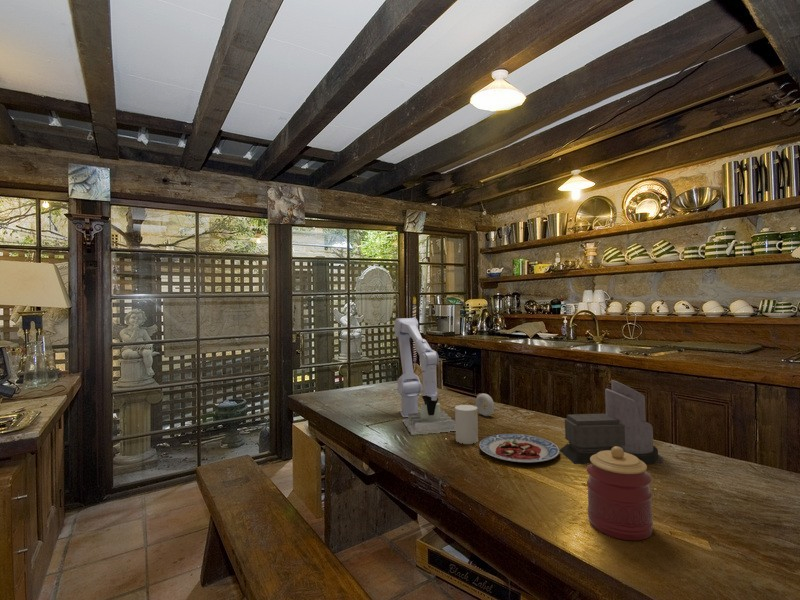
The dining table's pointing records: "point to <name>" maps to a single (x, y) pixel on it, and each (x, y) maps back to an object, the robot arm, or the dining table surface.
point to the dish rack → (429, 424)
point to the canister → (619, 495)
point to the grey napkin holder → (612, 428)
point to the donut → (489, 403)
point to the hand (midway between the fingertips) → (430, 414)
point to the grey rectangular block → (425, 412)
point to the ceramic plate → (519, 448)
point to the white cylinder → (466, 424)
